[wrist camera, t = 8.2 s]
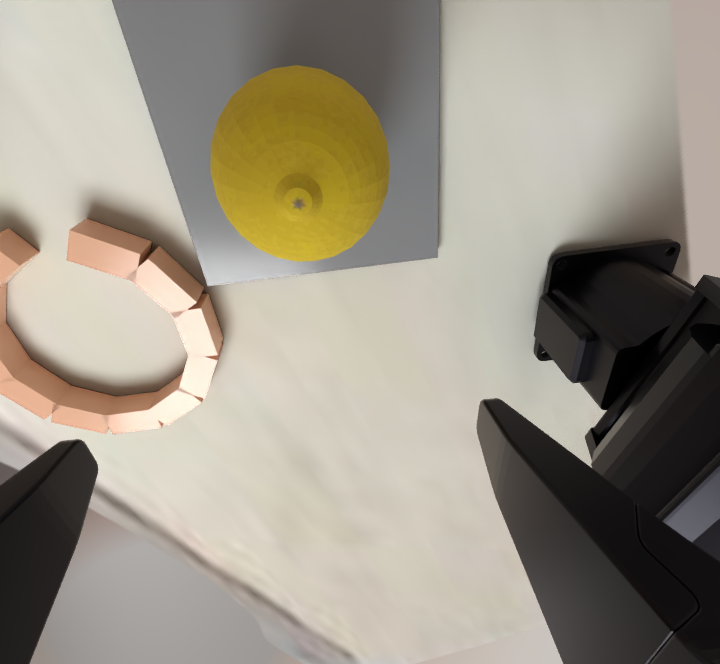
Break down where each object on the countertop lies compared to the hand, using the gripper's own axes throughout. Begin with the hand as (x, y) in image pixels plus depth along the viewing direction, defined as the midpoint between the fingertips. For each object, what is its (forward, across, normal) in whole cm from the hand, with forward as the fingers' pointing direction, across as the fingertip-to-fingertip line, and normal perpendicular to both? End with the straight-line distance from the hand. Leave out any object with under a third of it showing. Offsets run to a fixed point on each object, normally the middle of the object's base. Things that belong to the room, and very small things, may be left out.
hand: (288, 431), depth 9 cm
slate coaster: (+12, 0, -4) cm, 13 cm away
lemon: (+12, -1, -4) cm, 12 cm away
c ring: (+12, +11, +4) cm, 16 cm away
